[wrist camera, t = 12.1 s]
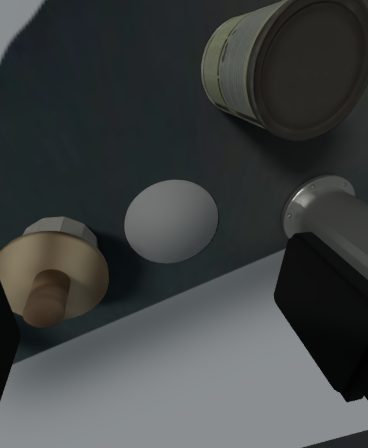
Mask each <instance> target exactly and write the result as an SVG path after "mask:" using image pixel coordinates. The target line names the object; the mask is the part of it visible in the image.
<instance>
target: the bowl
mask: <svg viewBox="0 0 368 448" xmlns="http://www.w3.org/2000/svg"><path fill="white" fill-rule="evenodd" d="M38 231H60V232H66V233H70V234H73V235H76V236H78V237H81V238H83V239H85V240H87V241H88V242H90V243H91V244H93V245H94V246H95V247H96V248H97V249H98V244H97V238H96V236H95V235H94V234H93V233H92V232H91V231H90V230H89V228H88V227H87V226H86V225H85V224H83V223H80V222H78V221H75V220H72V219H70V218H67V217H52V218H42V219H41V220H39V221H38V222H36V223H34V224H33V225H31V226H29V227H28V228H26V230H25V232H24V234H23V235H25V234H28V233H33V232H38Z"/></svg>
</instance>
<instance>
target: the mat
mask: <svg viewBox="0 0 368 448" xmlns="http://www.w3.org/2000/svg"><path fill="white" fill-rule="evenodd" d="M217 225H218V210H217V206H216V204H215V202H214V200H213V198H212V197H211V195H210V194H209V193H208V192H207V191H206V190H205V189H204V188H202V187H201V186H199V185H197V184H195V183H193V182H189V181H185V180H166V181H162V182H159V183H156V184H153V185H151V186H149V187H148V188H146V189H145V190H143V191H142V192H141V193H140V194H139V195H137V197H136V198H135V199H134V200H133V201H132V203H131V204H130V206H129V208H128V210H127V213H126V217H125V234H126V237H127V240H128V242H129V244H130V246H131V247H132V248H133V249H134V250H135V251H136V252H137V253H138V254H139V255H140V256H142V257H144V258H145V259H148V260H150V261H154V262H158V263H175V262H180V261H184V260H186V259H189V258H191V257H193V256H195V255H196V254H198V253H199V252H200V251H202V250H203V249H204V248H205V247H206V246H207V245H208V243H209V242H210V241H211V239H212V238H213V236H214V234H215V232H216V229H217Z"/></svg>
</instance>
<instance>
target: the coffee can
mask: <svg viewBox="0 0 368 448" xmlns="http://www.w3.org/2000/svg"><path fill="white" fill-rule="evenodd" d="M201 76H202V82H203V87H204V89H205V92H206V94H207V96H208V98H209V99H210V101H211V102H212V103H213V104H214V105H215V106H216V107H217V108H218V109H220V110H221V111H224V112H226V113H230V114H232V115H235V116H237V117H239V118H241V119H244V120H246V121H248V122H250V123H252V124H255V125H257V126H259V127H262V128H264V129H266V130H267V131H268V132H270V133H272V134H273V135H275V136H277V137H279V138H281V139H285V140H289V141H306V140H310V139H314V138H316V137H319V136H321V135H323V134H325V133H327V132H328V131H330V130H331V129H333V128H334V127H335V126H337V125H338V124H339V123H340V122H341V121H343V120H344V119H345V118H346V116H347V115H348V114H349V113H350V112H351V110H352V109H353V108H354V107H355V105H356V104H357V102H358V100H359V99H360V97H361V95H362V94H363V92H364V90H365V88H366V86H367V83H368V9H367V7H366V6H365V4H364V3H363V1H362V0H283V1H281V2H278V3H275V4H272V5H270V6H267V7H264V8H261V9H258V10H256V11H253V12H250V13H248V14H245V15H241V16H237V17H234V18H231V19H229V20H228V21H226V22H225V23H223V24H222V25H221V26H220V27H219V28H218V29H217V30H216V31H215V32H214V34H213V35H212V36H211V38H210V40H209V41H208V43H207V45H206V47H205V51H204V54H203V58H202V64H201Z"/></svg>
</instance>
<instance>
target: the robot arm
mask: <svg viewBox="0 0 368 448" xmlns="http://www.w3.org/2000/svg"><path fill="white" fill-rule="evenodd" d="M281 225H282V229H283V232H284V233H285V235H286V236H287V237H288V238H289V240H288V242H287V246H286V250H285V254H284V258H283V261H282V265H281V269H280V273H279V277H278V281H277V285H276V288H275V292H274V300H275V302H276V304H277V306H278V307H279V309H280V310H281V312H282V313H283V315H284V316H285V318H286V319H287V321H288V322H289V323H290V325H291V327H292V328H293V330H294V331H295V333H296V334H297V336H298V337H299V338H300V340H301V341H302V343H303V344H304V346H305V347H306V349H307V350H308V352H309V353H310V355H311V356H312V358H313V359H314V361H315V362H316V364H317V365H318V367H319V368H320V370H321V371H322V373H323V374H324V375H325V377H326V378H327V380H328V382H329V383H330V384H331V386H332V387H333V388H334V390H336V391H337V392H340V393H341V395H342V396H343V398H344V399H345V401H346V402H350V401H355V400H358V399H362V398H363V396H365V397H366V399H367V400H368V204H367V203H365V202H363V201H361V200H360V199H358V198H356V197H355V192H354V189H353V186H352V185H351V184H350V182H349V181H347V180H346V179H344V178H342V177H340V176H338V175H333V174H325V175H321V176H317V177H314V178H312V179H310V180H308V181H307V182H305V183H303V184H302V185H301V186H300V187H299V188H297V189H296V190H295V192H294V193H293V194H292V195H291V196H290V198H289V199H288V201H287V202H286V205H285V207H284V209H283V212H282V217H281ZM19 341H20V331H19V328H18V325H17V323H16V320H15V317H14V315H13V312H12V310H11V307H10V304H9V302H8V299H7V296H6V294H5V291H4V289H3V286H2V283H1V281H0V400H1V397H2V394H3V391H4V388H5V385H6V382H7V379H8V375H9V373H10V369H11V367H12V363H13V360H14V357H15V354H16V351H17V348H18V345H19ZM303 448H368V430H366V431H363V432H359V433H355V434H351V435H348V436H344V437H340V438H336V439H333V440H329V441H325V442H321V443H318V444H314V445H310V446H307V447H303Z"/></svg>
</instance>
